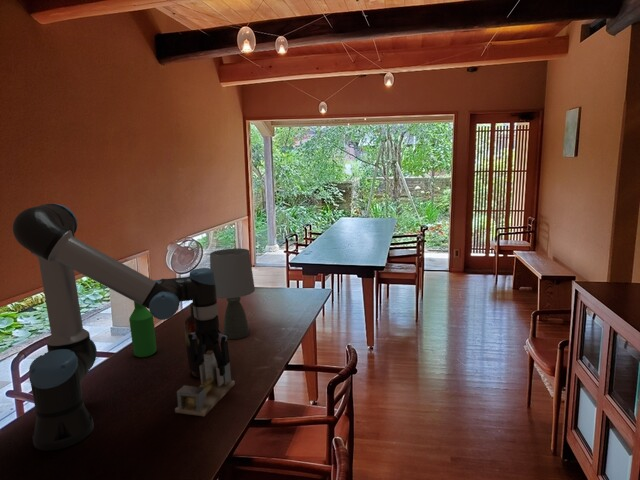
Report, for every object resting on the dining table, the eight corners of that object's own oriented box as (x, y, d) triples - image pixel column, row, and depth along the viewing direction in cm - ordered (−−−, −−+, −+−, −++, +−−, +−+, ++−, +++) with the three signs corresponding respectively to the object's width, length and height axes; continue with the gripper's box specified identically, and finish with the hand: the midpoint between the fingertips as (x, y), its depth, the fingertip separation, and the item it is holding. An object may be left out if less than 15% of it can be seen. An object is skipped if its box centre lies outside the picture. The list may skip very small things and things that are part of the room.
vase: (189, 381, 158) (181, 309, 153) (189, 368, 168) (182, 300, 164) (221, 376, 161) (215, 305, 156) (219, 363, 171) (213, 296, 167)
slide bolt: (195, 409, 137) (191, 372, 135) (185, 408, 138) (181, 370, 136) (224, 381, 154) (221, 347, 152) (214, 380, 155) (211, 346, 153)
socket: (225, 386, 151) (223, 367, 150) (205, 384, 153) (204, 365, 152) (231, 380, 155) (229, 361, 154) (211, 378, 157) (210, 360, 156)
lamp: (207, 342, 192) (199, 256, 186) (226, 326, 210) (219, 247, 204) (248, 344, 188) (241, 257, 181) (264, 327, 206) (258, 247, 199)
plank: (204, 416, 136) (203, 412, 136) (175, 412, 139) (174, 408, 138) (235, 384, 155) (234, 380, 154) (208, 381, 157) (208, 378, 157)
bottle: (149, 358, 178) (141, 297, 174) (129, 358, 180) (121, 297, 176) (161, 349, 187) (154, 291, 182) (142, 348, 189) (135, 290, 184)
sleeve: (200, 412, 136) (198, 394, 135) (178, 409, 138) (176, 391, 137) (206, 405, 140) (205, 387, 139) (185, 402, 142) (184, 385, 141)
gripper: (237, 313, 147) (243, 380, 151) (187, 311, 152) (194, 375, 156) (226, 322, 140) (232, 391, 144) (174, 318, 145) (181, 386, 149)
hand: (212, 383), depth 150 cm, fingers open, 5 cm apart
